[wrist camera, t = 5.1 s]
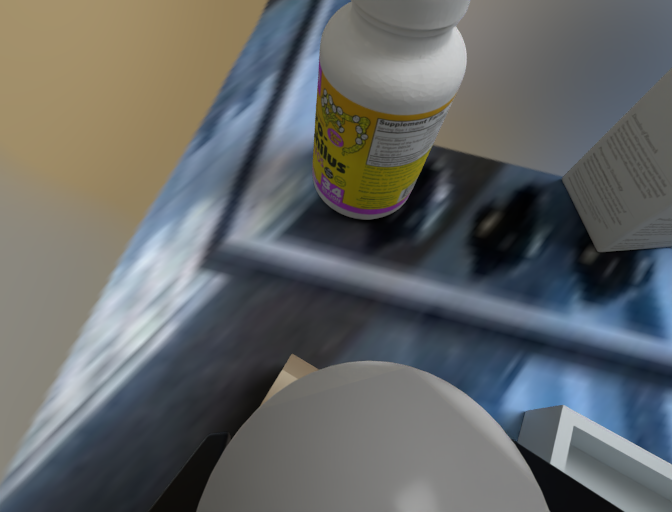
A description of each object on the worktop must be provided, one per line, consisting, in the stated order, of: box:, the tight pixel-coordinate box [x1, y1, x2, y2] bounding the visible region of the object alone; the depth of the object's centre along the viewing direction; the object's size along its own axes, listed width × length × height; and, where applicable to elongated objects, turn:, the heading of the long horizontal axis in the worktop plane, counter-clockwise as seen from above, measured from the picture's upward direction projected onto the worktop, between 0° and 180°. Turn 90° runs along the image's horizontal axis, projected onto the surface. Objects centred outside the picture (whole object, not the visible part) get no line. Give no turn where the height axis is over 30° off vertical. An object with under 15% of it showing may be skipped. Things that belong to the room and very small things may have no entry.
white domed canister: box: [196, 361, 550, 512], centre depth 9 cm, size 4×4×10 cm
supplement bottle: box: [312, 0, 470, 220], centre depth 19 cm, size 7×7×13 cm
